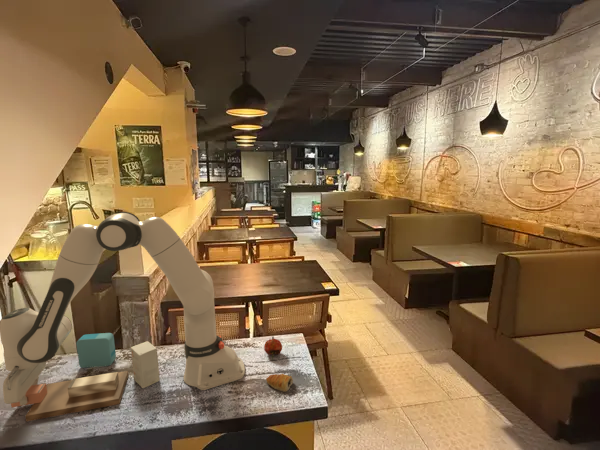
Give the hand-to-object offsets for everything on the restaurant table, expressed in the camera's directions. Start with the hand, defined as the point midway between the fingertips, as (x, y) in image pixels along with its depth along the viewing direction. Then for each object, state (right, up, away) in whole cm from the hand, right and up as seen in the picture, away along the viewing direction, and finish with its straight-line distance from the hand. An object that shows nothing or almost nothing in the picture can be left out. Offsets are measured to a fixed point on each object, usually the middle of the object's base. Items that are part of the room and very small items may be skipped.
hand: (29, 396), depth 111 cm
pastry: (+82, -1, +10) cm, 83 cm away
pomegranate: (+78, +2, +29) cm, 83 cm away
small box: (+32, -1, +13) cm, 35 cm away
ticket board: (+14, -2, +5) cm, 15 cm away
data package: (+8, +1, +24) cm, 25 cm away
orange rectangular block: (0, -1, 0) cm, 1 cm away
